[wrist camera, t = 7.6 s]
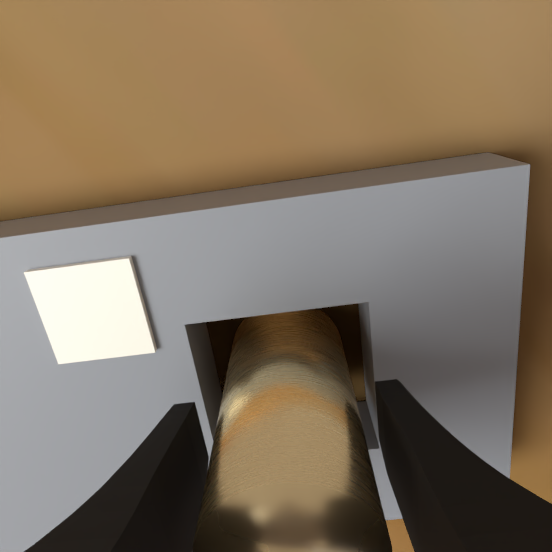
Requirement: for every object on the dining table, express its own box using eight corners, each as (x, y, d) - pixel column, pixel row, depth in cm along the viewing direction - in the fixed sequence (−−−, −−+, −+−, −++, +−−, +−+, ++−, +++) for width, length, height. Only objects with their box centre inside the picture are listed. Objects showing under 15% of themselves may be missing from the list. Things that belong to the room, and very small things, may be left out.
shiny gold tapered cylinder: (341, 297, 16) (394, 478, 8) (343, 392, 17) (389, 620, 10) (226, 304, 16) (178, 488, 8) (238, 398, 17) (206, 626, 10)
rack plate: (488, 152, 14) (534, 165, 11) (478, 455, 18) (510, 513, 16) (-125, 239, 15) (-207, 268, 13) (6, 503, 19) (-35, 564, 17)
